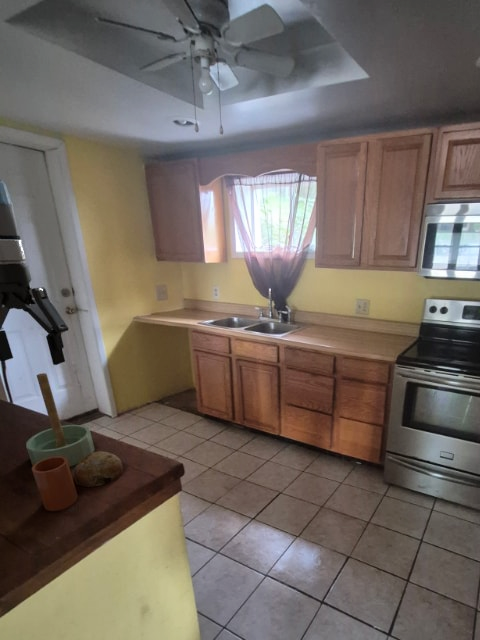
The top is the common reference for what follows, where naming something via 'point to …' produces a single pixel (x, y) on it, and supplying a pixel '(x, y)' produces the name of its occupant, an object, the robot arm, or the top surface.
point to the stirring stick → (51, 410)
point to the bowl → (74, 452)
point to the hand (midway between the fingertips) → (32, 361)
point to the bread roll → (97, 469)
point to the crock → (55, 483)
